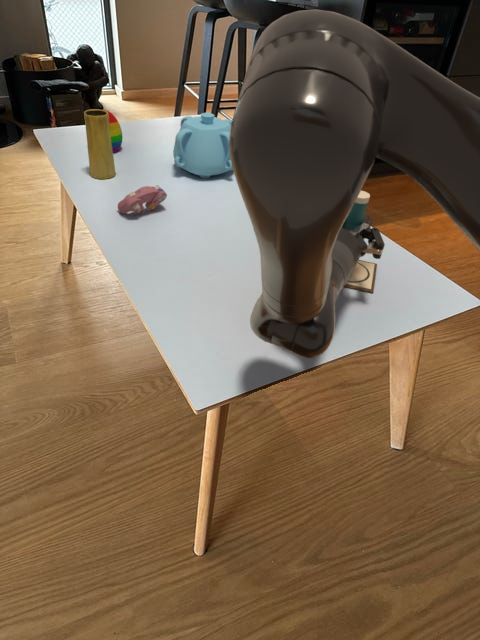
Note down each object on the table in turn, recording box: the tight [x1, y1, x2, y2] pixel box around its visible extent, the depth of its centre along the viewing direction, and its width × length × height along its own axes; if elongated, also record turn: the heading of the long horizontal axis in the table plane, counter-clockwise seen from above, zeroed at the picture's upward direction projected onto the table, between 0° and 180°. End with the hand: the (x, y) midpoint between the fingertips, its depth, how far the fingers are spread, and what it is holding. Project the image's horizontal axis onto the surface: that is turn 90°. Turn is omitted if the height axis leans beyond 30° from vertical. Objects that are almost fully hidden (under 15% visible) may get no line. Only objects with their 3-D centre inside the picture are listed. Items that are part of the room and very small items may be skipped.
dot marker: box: [342, 190, 371, 230], centre depth 81 cm, size 3×3×13 cm
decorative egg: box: [104, 109, 123, 153], centre depth 122 cm, size 8×8×10 cm
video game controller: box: [117, 184, 168, 215], centre depth 98 cm, size 10×5×7 cm, turn 132°
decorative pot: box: [172, 112, 233, 179], centre depth 116 cm, size 16×16×14 cm
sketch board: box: [343, 259, 378, 294], centre depth 87 cm, size 10×10×1 cm
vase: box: [83, 108, 117, 180], centre depth 108 cm, size 6×6×14 cm
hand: (356, 217), depth 83 cm, fingers closed on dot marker, 3 cm apart
